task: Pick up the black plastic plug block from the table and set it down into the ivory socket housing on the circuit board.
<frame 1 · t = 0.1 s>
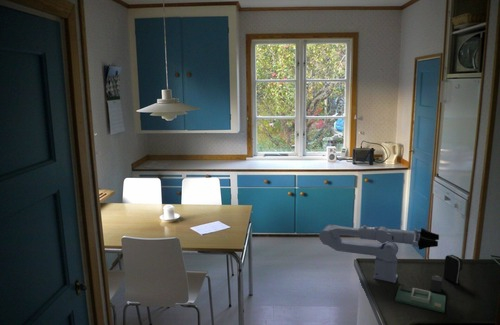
hand: (438, 240, 166), 22 cm above the worktop, tool horizontal, fingers open, 7 cm apart
battery charger: (452, 280, 177), on the worktop
plug: (435, 289, 169), on the worktop
board: (420, 299, 161), on the worktop
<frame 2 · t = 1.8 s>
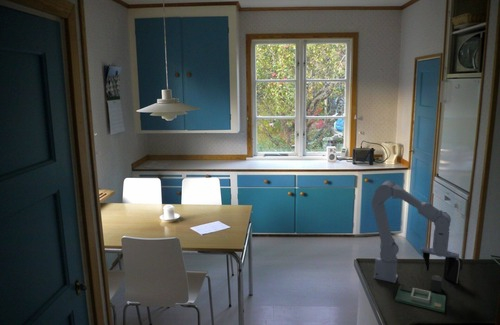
hand: (437, 271, 167), 8 cm above the worktop, tool pointing down, fingers open, 7 cm apart
nothing on the worktop moved.
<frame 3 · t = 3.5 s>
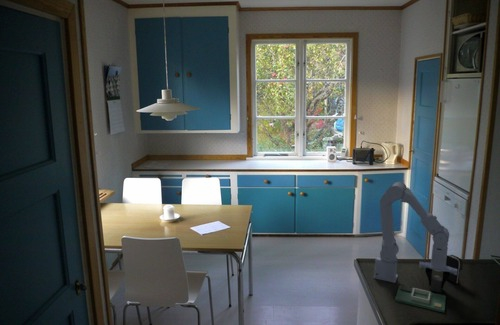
hand: (436, 286, 169), 1 cm above the worktop, tool pointing down, fingers closed on plug, 4 cm apart
plug: (435, 289, 169), on the worktop, touching gripper
everything else where it was.
when the fingers open (3 cm above the worktop, at t = 7.7 s): plug stays where it is, resting on board.
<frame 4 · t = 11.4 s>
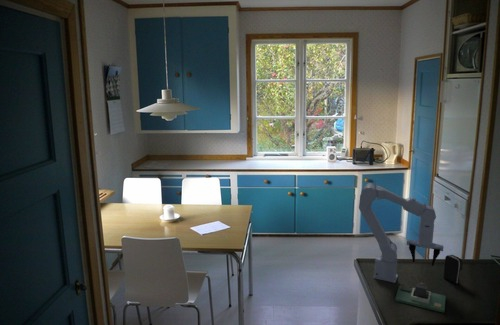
hand: (423, 263, 173), 9 cm above the worktop, tool pointing down, fingers open, 7 cm apart
plug: (420, 296, 161), point 1 cm above the worktop, touching board
everything else where it was.
at the end: plug 0.2 cm off-centre on the board, point 1.0 cm above the board's base; plug tilted 0°; the gripper is holding nothing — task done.
